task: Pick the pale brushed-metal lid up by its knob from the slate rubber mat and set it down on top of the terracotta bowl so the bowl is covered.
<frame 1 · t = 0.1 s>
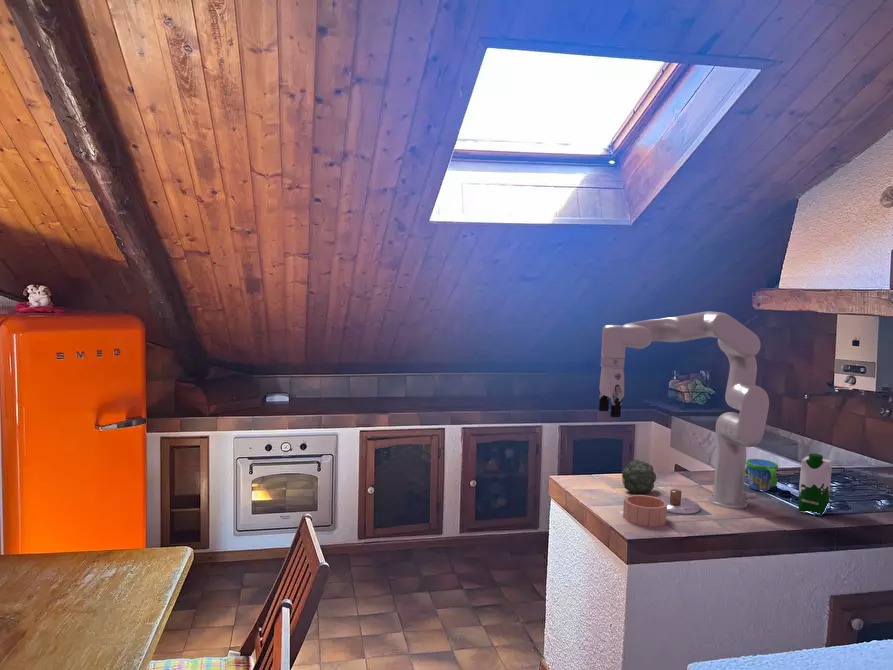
hand: (609, 413, 232), 31 cm above the table, tool pointing down, fingers open, 9 cm apart
milk carton: (812, 512, 236), on the table
bowl: (644, 519, 222), on the table
lid: (675, 506, 235), resting on mat
mat: (674, 507, 235), on the table
snack cup: (759, 489, 260), on the table
vegetable: (635, 491, 252), on the table
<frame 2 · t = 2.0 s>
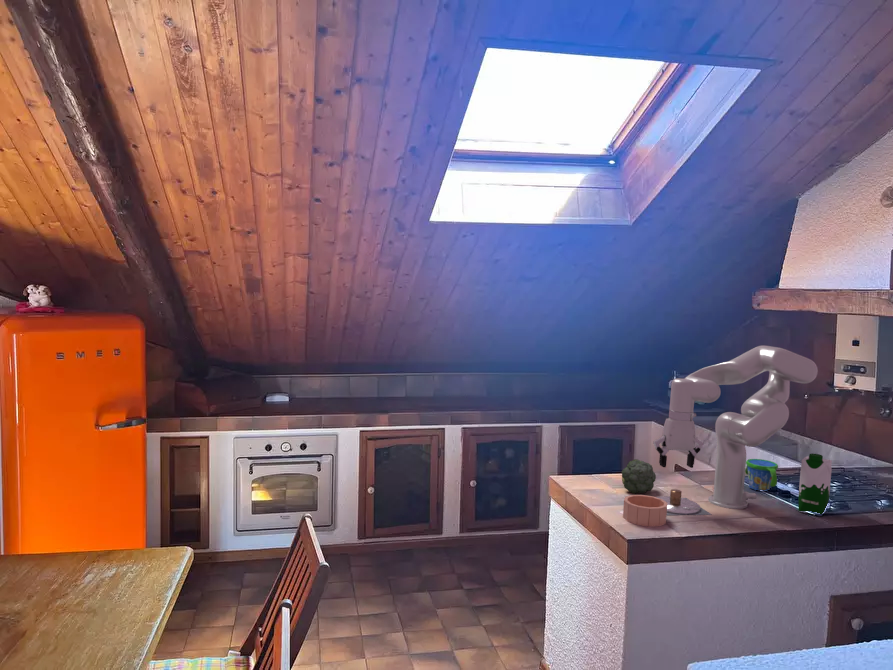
hand: (676, 466, 234), 14 cm above the table, tool pointing down, fingers open, 9 cm apart
nothing on the table moved.
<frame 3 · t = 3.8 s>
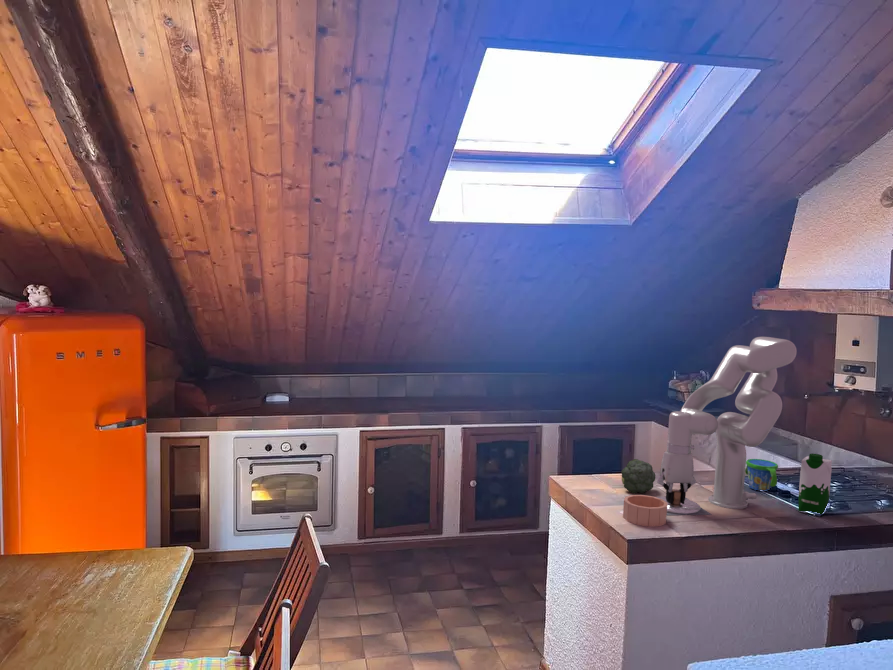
hand: (675, 502, 235), 2 cm above the table, tool pointing down, fingers closed on lid, 3 cm apart
lid: (675, 506, 235), resting on mat, touching gripper
everything else where it was.
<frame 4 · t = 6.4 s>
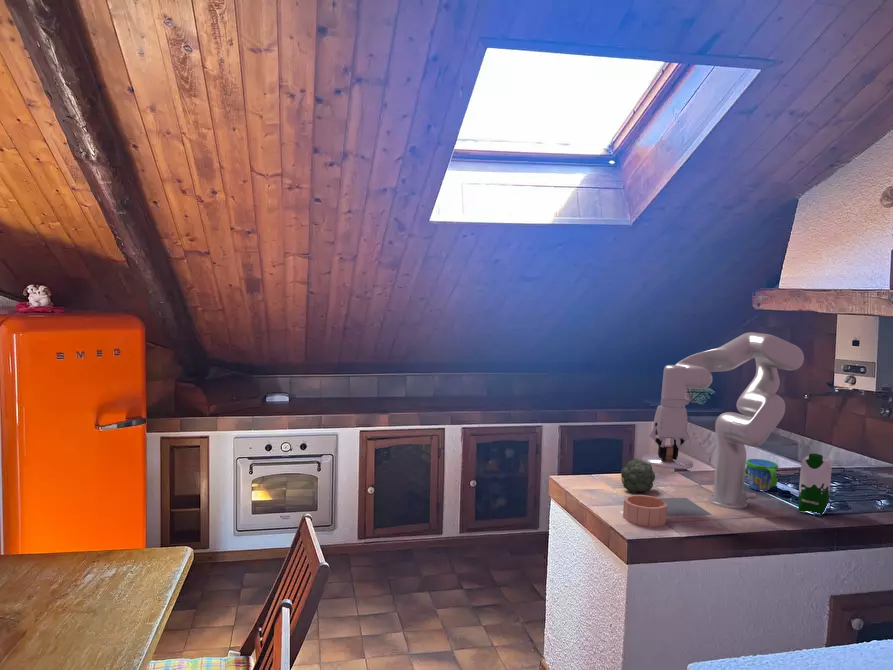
hand: (667, 458, 229), 18 cm above the table, tool pointing down, fingers closed on lid, 3 cm apart
lid: (667, 462, 229), point 16 cm above the table, touching gripper
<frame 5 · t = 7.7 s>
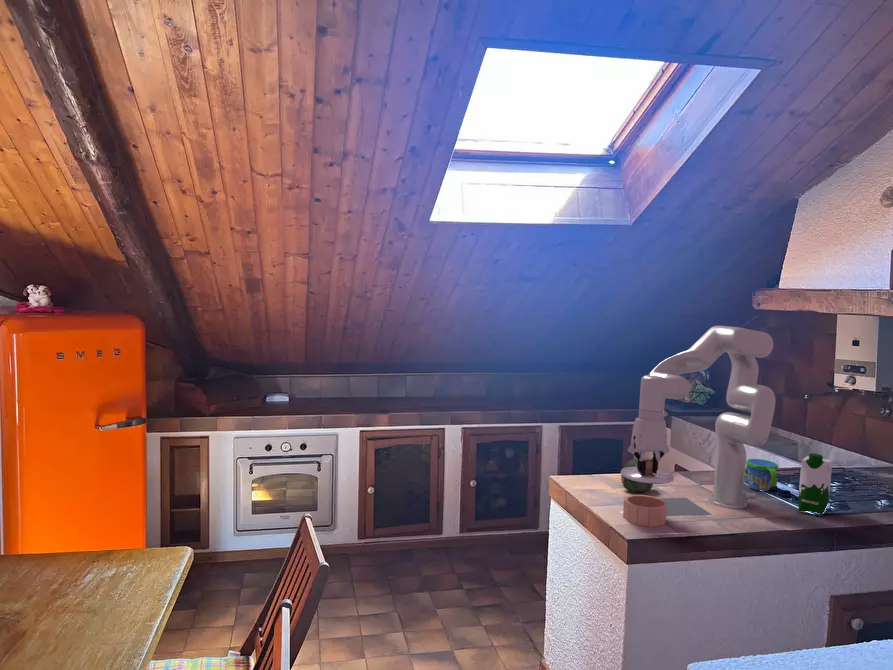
hand: (647, 471, 220), 16 cm above the table, tool pointing down, fingers closed on lid, 3 cm apart
lid: (646, 476, 221), point 14 cm above the table, touching gripper
when the fingers open (9 cm above the table, at t = 9.0 s): lid drops 1 cm, resting on bowl.
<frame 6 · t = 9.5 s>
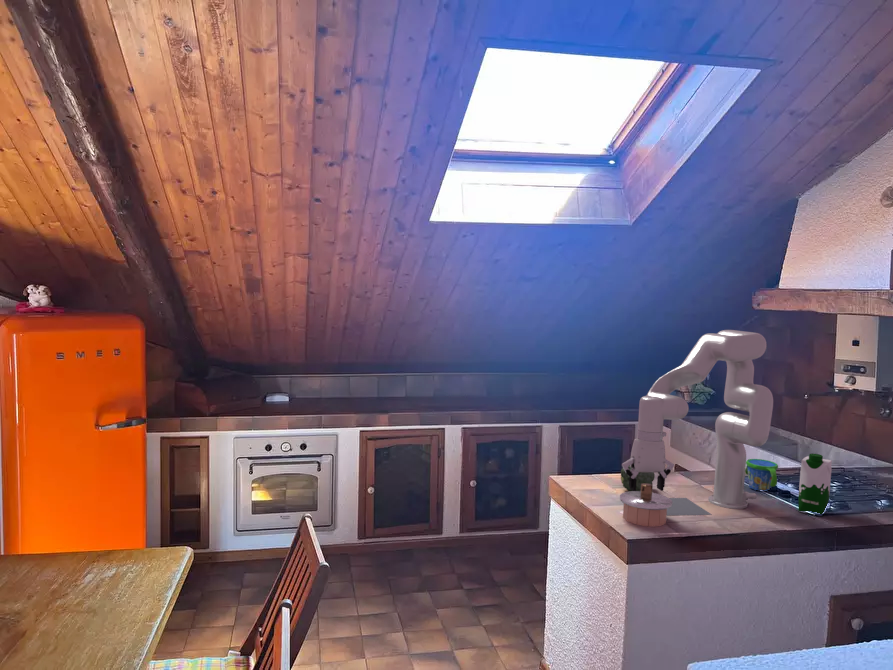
hand: (646, 489, 221), 10 cm above the table, tool pointing down, fingers open, 8 cm apart
lid: (645, 501, 221), point 6 cm above the table, touching bowl
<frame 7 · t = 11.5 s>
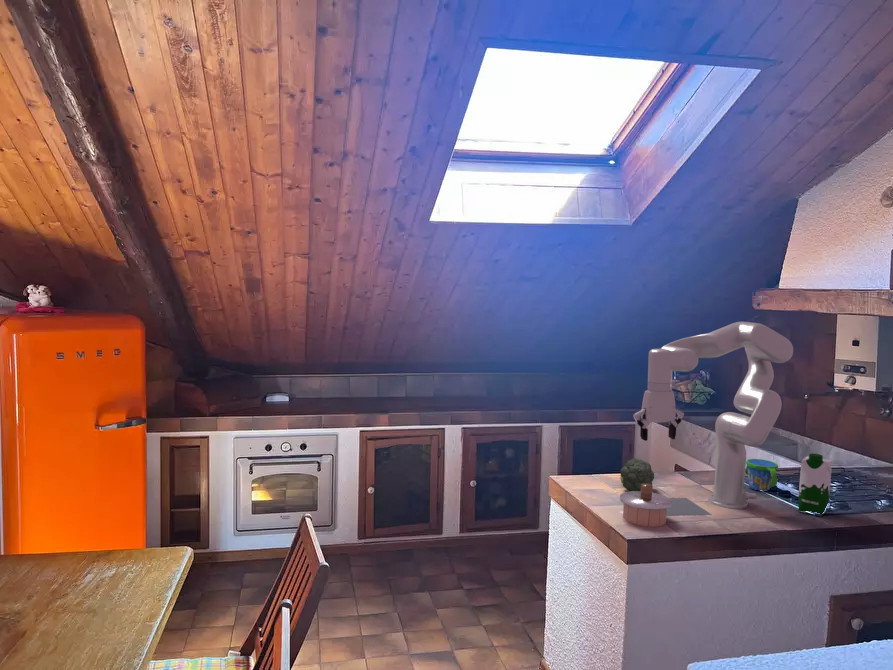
hand: (658, 439, 228), 24 cm above the table, tool pointing down, fingers open, 9 cm apart
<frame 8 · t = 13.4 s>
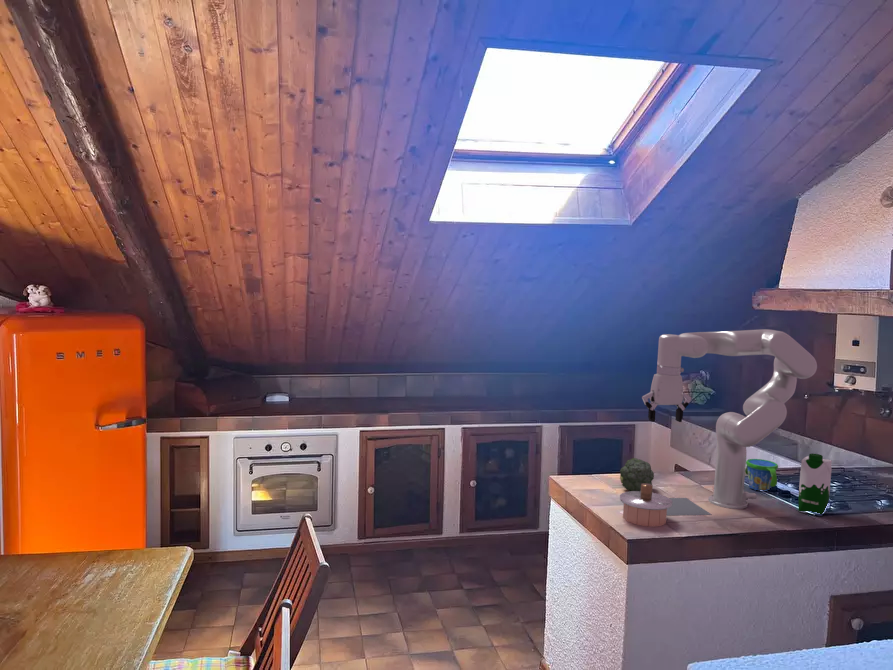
hand: (665, 421, 237), 28 cm above the table, tool pointing down, fingers open, 9 cm apart
at the end: lid 0.1 cm off-centre on the bowl, point 6.0 cm above the bowl's base; lid tilted 0°; the gripper is holding nothing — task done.
